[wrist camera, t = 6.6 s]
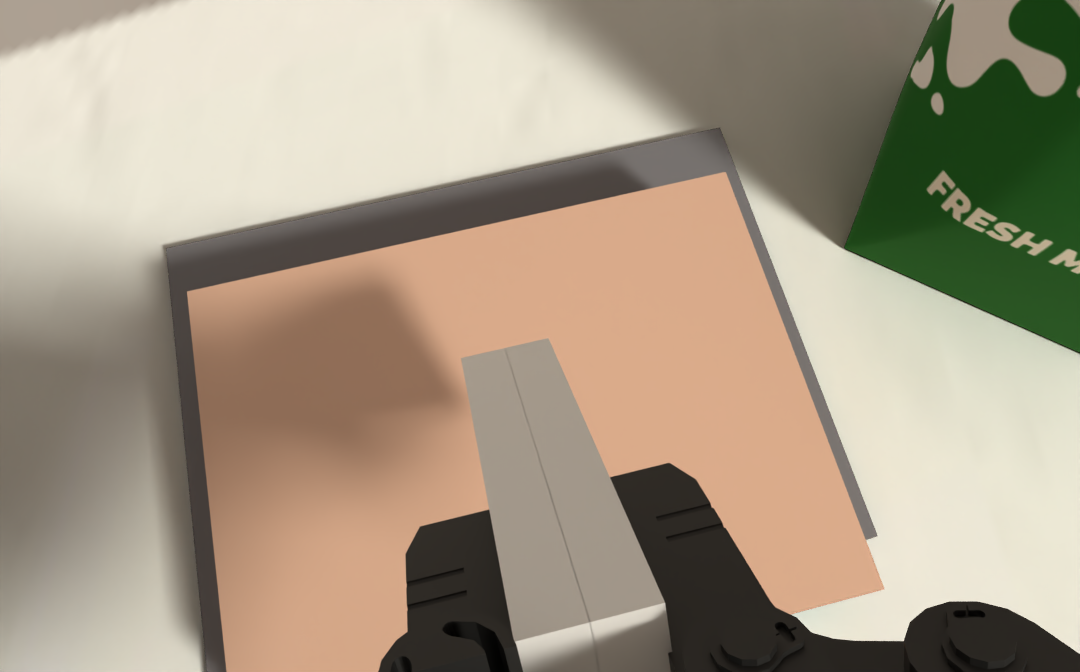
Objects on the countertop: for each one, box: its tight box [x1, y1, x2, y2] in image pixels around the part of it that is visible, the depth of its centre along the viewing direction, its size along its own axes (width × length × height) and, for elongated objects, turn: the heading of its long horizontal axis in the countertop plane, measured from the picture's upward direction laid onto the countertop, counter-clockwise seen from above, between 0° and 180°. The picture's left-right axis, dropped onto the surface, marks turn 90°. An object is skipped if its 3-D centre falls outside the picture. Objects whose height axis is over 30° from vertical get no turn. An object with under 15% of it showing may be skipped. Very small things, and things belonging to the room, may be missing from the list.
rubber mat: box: [166, 128, 877, 672], centre depth 22 cm, size 12×16×1 cm
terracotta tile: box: [187, 172, 884, 672], centre depth 19 cm, size 3×13×10 cm
